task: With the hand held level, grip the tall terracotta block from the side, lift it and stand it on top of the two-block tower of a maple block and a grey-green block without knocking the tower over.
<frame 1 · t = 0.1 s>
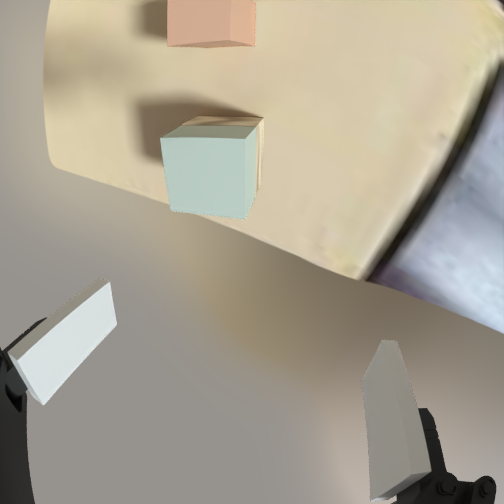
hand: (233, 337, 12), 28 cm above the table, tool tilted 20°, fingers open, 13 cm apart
tower base block: (230, 147, 35), on the table, touching tower upper block
tower upper block: (218, 161, 31), point 5 cm above the table, touching tower base block
tall block: (230, 25, 24), on the table
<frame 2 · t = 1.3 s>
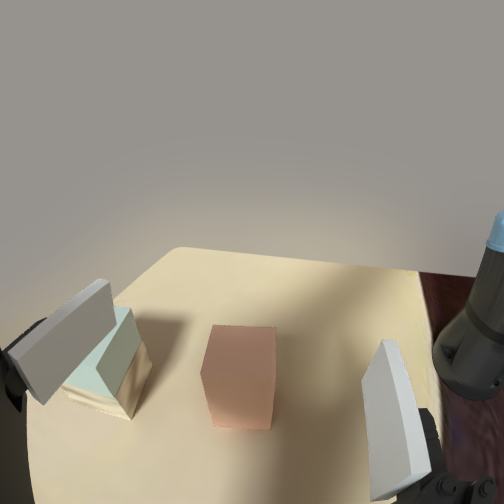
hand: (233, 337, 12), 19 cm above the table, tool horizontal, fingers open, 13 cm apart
tower base block: (112, 385, 28), on the table, touching tower upper block
tower upper block: (96, 360, 26), point 5 cm above the table, touching tower base block
tall block: (244, 406, 27), on the table
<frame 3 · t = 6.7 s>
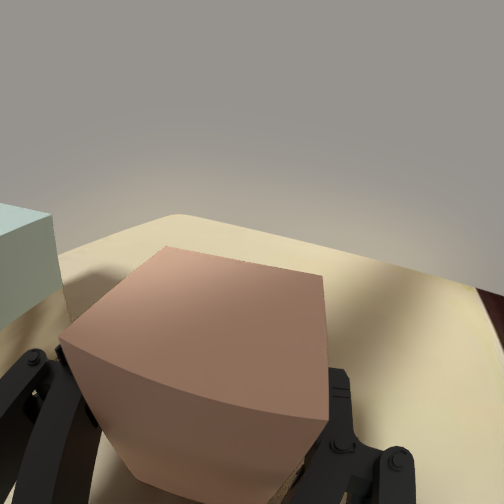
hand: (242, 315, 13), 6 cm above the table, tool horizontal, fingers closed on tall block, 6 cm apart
tower base block: (10, 349, 13), on the table, touching tower upper block
tall block: (210, 455, 11), on the table, touching gripper
when the fingers open (17 cm above the table, at t = 11.0 s): tall block drops 1 cm, resting on tower upper block.
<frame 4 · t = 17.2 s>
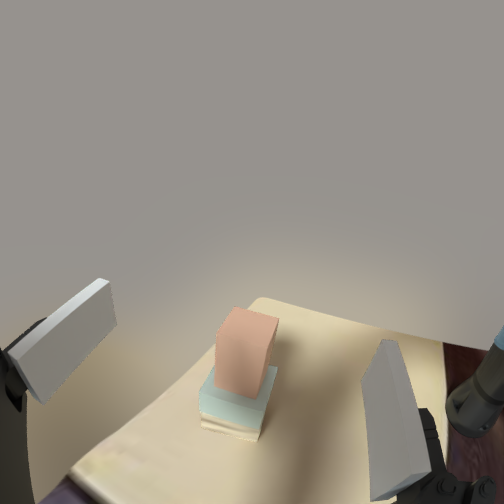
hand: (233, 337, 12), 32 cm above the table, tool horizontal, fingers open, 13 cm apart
tower base block: (235, 415, 39), on the table, touching tower upper block
tower upper block: (238, 399, 38), point 5 cm above the table, touching tall block, tower base block
tall block: (241, 378, 36), point 10 cm above the table, touching tower upper block
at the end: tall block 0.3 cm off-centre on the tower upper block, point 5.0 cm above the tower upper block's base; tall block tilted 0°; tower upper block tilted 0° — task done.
